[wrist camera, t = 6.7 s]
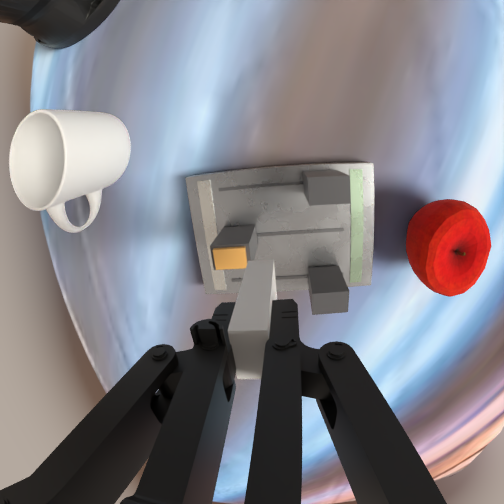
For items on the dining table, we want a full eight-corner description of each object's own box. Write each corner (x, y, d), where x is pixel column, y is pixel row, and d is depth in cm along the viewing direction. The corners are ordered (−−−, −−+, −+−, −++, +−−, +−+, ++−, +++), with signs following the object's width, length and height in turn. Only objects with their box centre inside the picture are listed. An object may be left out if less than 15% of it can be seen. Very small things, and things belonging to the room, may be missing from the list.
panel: (192, 175, 26) (185, 177, 24) (367, 162, 24) (373, 163, 22) (210, 285, 31) (205, 294, 29) (366, 276, 28) (371, 285, 26)
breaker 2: (307, 267, 26) (312, 293, 22) (338, 265, 26) (349, 291, 21) (308, 286, 27) (312, 314, 22) (338, 284, 27) (347, 311, 22)
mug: (82, 217, 30) (21, 248, 20) (74, 121, 25) (7, 124, 15) (139, 215, 29) (79, 250, 19) (132, 106, 24) (65, 96, 14)
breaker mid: (223, 227, 26) (208, 247, 21) (255, 224, 25) (248, 245, 20) (226, 247, 26) (212, 272, 21) (257, 245, 26) (251, 270, 21)
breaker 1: (302, 171, 23) (307, 177, 18) (336, 169, 23) (349, 175, 18) (304, 193, 24) (309, 205, 19) (337, 192, 23) (350, 203, 19)
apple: (464, 245, 26) (502, 273, 18) (406, 281, 28) (435, 320, 21) (443, 175, 23) (487, 188, 16) (379, 213, 26) (410, 238, 18)
